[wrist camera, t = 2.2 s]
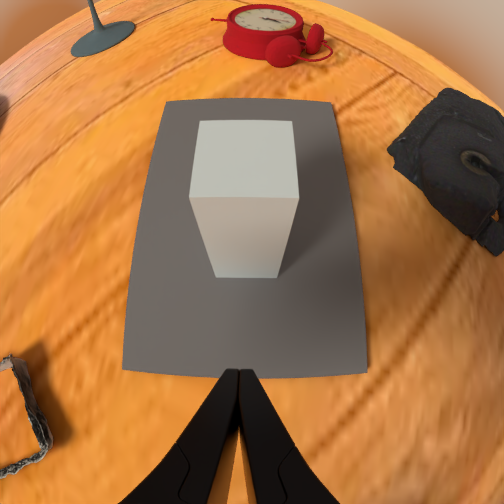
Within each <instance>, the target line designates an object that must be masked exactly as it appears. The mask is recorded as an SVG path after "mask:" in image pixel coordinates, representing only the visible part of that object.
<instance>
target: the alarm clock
mask: <svg viewBox="0 0 504 504" xmlns="http://www.w3.org/2000/svg"><path fill="white" fill-rule="evenodd" d="M213 20H215V21H224V22H227V30H226V32H225V34H224V36H223V44H224V46H225V47H226V48H227V49H228V50H229V51H231V52H232V53H234V54H237V55H239V56H243V57H246V58H252V59H258V60H267V61H268V63H269V64H271V65H272V66H274V67H287V66H290V65H292V64H293V63H295V62H296V61H297V59H301V60H305V61H310V62H316V61H322V60H324V59H327V58H328V57H330V56H331V55H332V54H333V50H332V49H331V48H330V47H329V46H328V45H326V44H324V43H323V42H325V43H327V41H325V40H323V39H324V29H323V27H322V26H321V25H319V24H316V23H315V24H313V26H312V27H311V29H310V31H309V34H308V37H307V41H306V40H305V38H304V36H303V32H302V30H303V25H304V22H303V18H302V17H301V15H300V14H298V13H297V12H295V11H293V10H291V9H288V8H285V7H281V6H276V5H268V4H254V5H253V4H252V5H247V6H242V7H239V8H236V9H234V10H233V11H231V12H230V13H229V14H228V17H227V20H226V19H214V18H211V21H213ZM322 44H323V45H324V46H326V47H327V48H329V49H330V51H331V53H330V54H329V55H328V56H326V57H323V58H321V59H315V60H313V59H306V58H302V57H299V56H300V54H301V52H302V51H303V50H304V49H305V48H306V53H308V54H315V53H316V52H318V51H319V49H320V47H321V46H322ZM305 45H306V46H305Z"/></svg>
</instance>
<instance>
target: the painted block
mask: <svg viewBox="0 0 504 504" xmlns="http://www.w3.org/2000/svg"><path fill="white" fill-rule="evenodd" d="M189 199H190V202H191V205H192V209H193V212H194V215H195V218H196V221H197V224H198V227H199V230H200V233H201V236H202V239H203V242H204V244H205V247H206V250H207V253H208V256H209V259H210V262H211V265H212V268H213V270H214V273H215V276H216V277H217V278H277V276H278V272H279V269H280V265H281V262H282V258H283V255H284V251H285V248H286V244H287V241H288V237H289V234H290V230H291V226H292V223H293V219H294V216H295V212H296V208H297V205H298V201H299V189H298V177H297V166H296V155H295V145H294V135H293V126H292V121H276V120H209V121H200V123H199V129H198V136H197V142H196V149H195V156H194V163H193V170H192V177H191V185H190V193H189Z"/></svg>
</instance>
